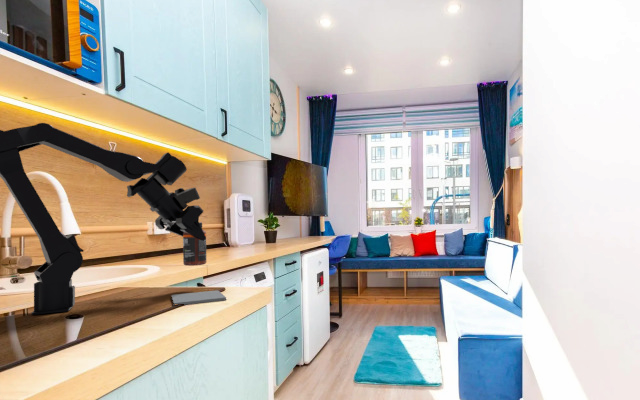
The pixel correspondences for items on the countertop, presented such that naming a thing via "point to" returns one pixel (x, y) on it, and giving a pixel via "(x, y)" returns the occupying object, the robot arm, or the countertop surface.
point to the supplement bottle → (194, 250)
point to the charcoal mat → (198, 297)
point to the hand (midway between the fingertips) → (199, 239)
